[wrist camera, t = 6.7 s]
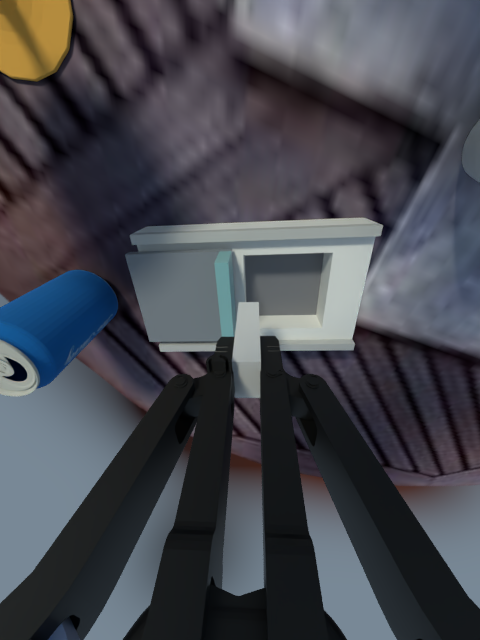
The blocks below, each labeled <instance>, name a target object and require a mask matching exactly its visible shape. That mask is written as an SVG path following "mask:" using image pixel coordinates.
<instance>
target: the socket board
mask: <svg viewBox="0 0 480 640" xmlns="http://www.w3.org/2000/svg"><path fill="white" fill-rule="evenodd" d="M382 228H383V225H381V224H379V223H376V222H374V221H371V220H369V219H366V218H340V219H316V220H291V221H267V222H242V223H218V224H193V225H169V226H147V227H145V228H143V229H141V230H139V231H137V232H135V233H133V234H131V235H130V239H131V243H132V245H137V248H138V252H144V251H174V250H203V249H232V252H233V268H234V284H235V300H236V317H237V312H238V303H239V302H259V322H260V336H276V338H277V339H278V340H279V345H280V351H320V350H354V345H355V343H354V342H353V340H352V337H353V333H354V329H355V324H356V320H357V316H358V311H359V307H360V302H361V298H362V294H363V289H364V285H365V280H366V276H367V272H368V267H369V263H370V259H371V254H372V250H373V245H374V241H375V237H376V236H381V232H382ZM216 344H217V341H186V342H161V343H160V344H159V348H160V352H170V351H215V349H216Z"/></svg>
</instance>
